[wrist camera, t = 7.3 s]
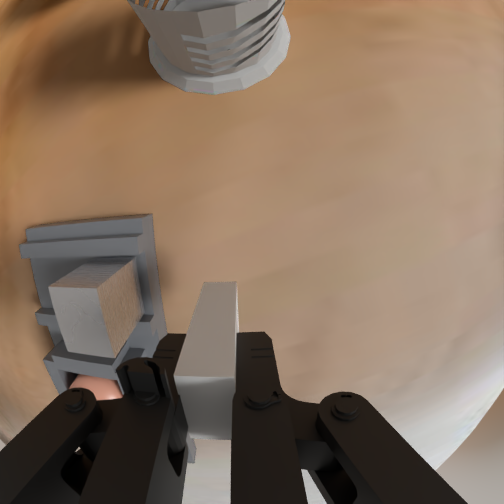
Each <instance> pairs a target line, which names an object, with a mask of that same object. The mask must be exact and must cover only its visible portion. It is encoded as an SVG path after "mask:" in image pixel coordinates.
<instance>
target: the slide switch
mask: <svg viewBox="0 0 504 504" xmlns="http://www.w3.org/2000/svg"><path fill="white" fill-rule="evenodd" d="M48 288H49V293H50V296H51V300H52V304H53V308H54V311H55V315H56V318H57V321H58V324H59V327H60V331H61V334H62V336H63V339H64V342H65V345H66V348H67V350H68V352H74V353H80V354H87V355H93V356H101V357H108V358H116V356H117V354H118V353H119V351H120V350H121V348H122V347H123V345H124V343H125V342H126V340H127V339H128V337H129V336H130V334H131V333H132V331H133V330H134V328H135V327H136V325H137V324H138V322H139V321H140V319H141V318H142V316H143V315H144V313H145V311H144V305H143V300H142V294H141V288H140V282H139V275H138V268H137V261H136V257H112V258H93V259H92V260H90V261H88V262H87V263H85V264H83V265H82V266H80V267H78V268H77V269H75V270H74V271H72V272H70V273H69V274H67V275H66V276H64V277H62V278H61V279H59V280H58V281H56V282H55V283H53V284H51V285H50V286H48Z"/></svg>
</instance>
